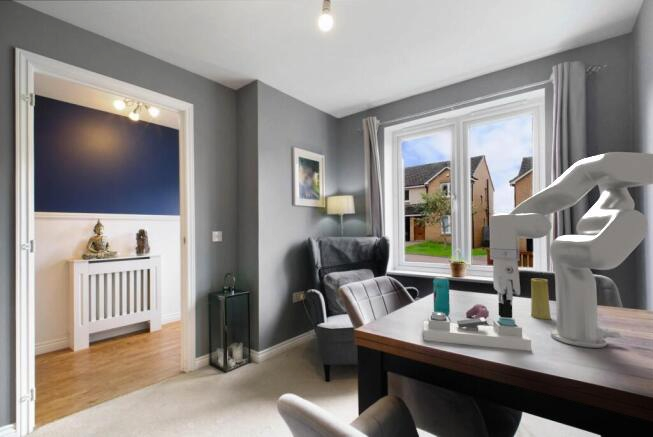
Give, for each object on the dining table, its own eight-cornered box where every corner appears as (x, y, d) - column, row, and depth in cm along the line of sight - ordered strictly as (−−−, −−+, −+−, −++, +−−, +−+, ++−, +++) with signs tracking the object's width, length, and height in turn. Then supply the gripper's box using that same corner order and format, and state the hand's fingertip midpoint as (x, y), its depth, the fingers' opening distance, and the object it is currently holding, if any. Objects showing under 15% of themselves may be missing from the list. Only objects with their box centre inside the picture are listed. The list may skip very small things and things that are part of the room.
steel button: (444, 320, 94) (444, 312, 94) (446, 323, 90) (445, 315, 90) (431, 319, 95) (431, 311, 95) (432, 322, 92) (432, 314, 92)
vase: (531, 313, 117) (529, 277, 117) (550, 316, 113) (549, 279, 114) (530, 317, 112) (529, 279, 113) (551, 320, 108) (549, 281, 109)
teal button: (512, 325, 88) (512, 317, 89) (516, 329, 85) (516, 321, 85) (497, 324, 90) (497, 316, 90) (501, 328, 86) (500, 319, 86)
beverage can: (432, 313, 118) (431, 276, 119) (447, 314, 117) (446, 276, 118) (435, 317, 112) (434, 278, 113) (451, 318, 112) (450, 278, 112)
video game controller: (484, 329, 104) (493, 311, 104) (471, 322, 105) (480, 305, 105) (475, 320, 114) (484, 304, 113) (464, 314, 115) (472, 298, 114)
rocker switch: (485, 320, 91) (484, 317, 91) (487, 324, 87) (486, 320, 87) (457, 324, 93) (456, 320, 93) (459, 327, 89) (458, 323, 90)
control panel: (519, 338, 90) (518, 320, 91) (531, 350, 81) (530, 330, 81) (423, 329, 99) (423, 313, 99) (424, 340, 89) (423, 321, 89)
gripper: (527, 257, 80) (529, 326, 79) (511, 253, 94) (512, 311, 93) (496, 256, 82) (497, 323, 81) (485, 253, 96) (485, 309, 96)
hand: (505, 316), depth 87 cm, fingers closed
